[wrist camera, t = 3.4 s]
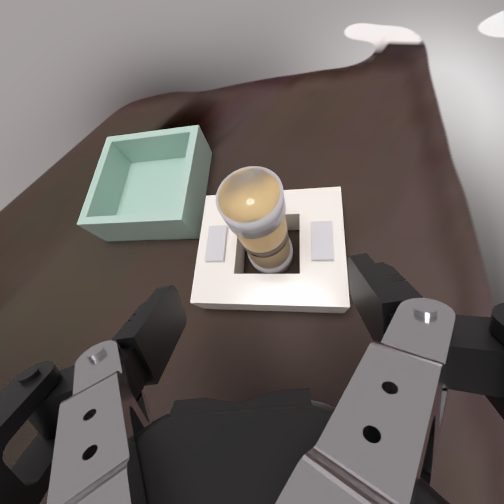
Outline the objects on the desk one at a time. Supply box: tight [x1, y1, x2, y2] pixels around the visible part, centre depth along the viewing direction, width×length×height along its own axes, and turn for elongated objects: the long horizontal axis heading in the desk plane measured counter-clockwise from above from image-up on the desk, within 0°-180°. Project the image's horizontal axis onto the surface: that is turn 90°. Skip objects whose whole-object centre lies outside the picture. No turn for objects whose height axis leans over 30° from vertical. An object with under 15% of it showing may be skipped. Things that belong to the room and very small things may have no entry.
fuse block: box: [190, 187, 350, 313], centre depth 22 cm, size 12×10×3 cm
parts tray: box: [77, 125, 212, 241], centre depth 27 cm, size 11×11×4 cm
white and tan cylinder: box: [216, 166, 293, 274], centre depth 19 cm, size 4×4×10 cm
